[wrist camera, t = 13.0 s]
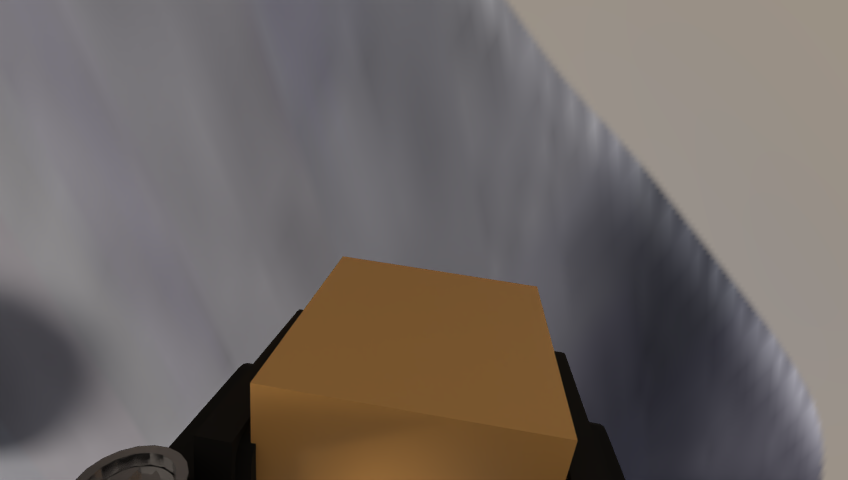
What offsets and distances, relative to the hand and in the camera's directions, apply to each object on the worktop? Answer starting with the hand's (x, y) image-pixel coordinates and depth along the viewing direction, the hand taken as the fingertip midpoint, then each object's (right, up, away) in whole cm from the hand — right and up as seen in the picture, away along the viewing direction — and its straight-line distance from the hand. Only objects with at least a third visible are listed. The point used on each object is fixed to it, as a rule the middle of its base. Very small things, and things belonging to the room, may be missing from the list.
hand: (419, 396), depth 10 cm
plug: (0, -3, +2) cm, 3 cm away
